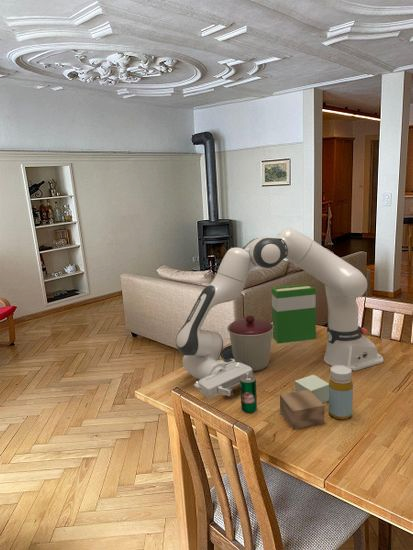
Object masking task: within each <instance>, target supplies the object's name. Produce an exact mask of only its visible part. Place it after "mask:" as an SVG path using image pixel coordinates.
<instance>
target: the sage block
mask: <svg viewBox="0 0 413 550" xmlns="http://www.w3.org/2000/svg"><path fill="white" fill-rule="evenodd" d="M308 389H309V390H310V391H311V392H312V393H313V394H314V395H315V396H316V397H317V398H318V399H319V400H320V401H321V402H322V403H323V404H324V403H327V402H329V382H327V381H325V379H323V378H320V377H318V376H316V375H315V374H311V375H308V376H305V377H302V378H299V379H296V380H294V392H297V391H302V390H308Z"/></svg>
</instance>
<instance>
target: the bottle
mask: <svg viewBox="0 0 413 550" xmlns="http://www.w3.org/2000/svg"><path fill="white" fill-rule="evenodd" d="M329 369H330V371H329V372H330V373H329V374H330V375H329V381H328V383H329V401H328V413H329V415H330V416H331V417H333V418H335V419H337V420H348V419H350V418H351V417H352V416H353V403H354V402H353V401H354V400H353V399H354V384H353V383H354V382H353V381H352V380H353V372H352V371H353V370H351V368H349V367H347V366H344V365H335V366H331V367H330V368H329Z"/></svg>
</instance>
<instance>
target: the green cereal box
mask: <svg viewBox="0 0 413 550" xmlns="http://www.w3.org/2000/svg"><path fill="white" fill-rule="evenodd" d="M316 290H317V289H316V287H312V286H311V284H310V283H306V284H304V283H303V284H294V285H286V286H284V285H283V286H274V287H271V305H272V306H271V310H272V311H271V313H272V314H271V315H272V316H271V317H272V318H271V319H272V324H273V326H274V329H273V330H272V339H274V340H275V342H276V343H277V344H278V345H279V344H285V343H286V344H287V343H296V342H304V341H310V340H311V341H312V340H316V339H317V338H316V337H317V335H316V334H317V331H316V326H317V325H316V324H317V323H316V320H317V319H316V318H317V317H316V316H317V315H316V310H317V309H316V296H317V294H316V293H317V291H316Z"/></svg>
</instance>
